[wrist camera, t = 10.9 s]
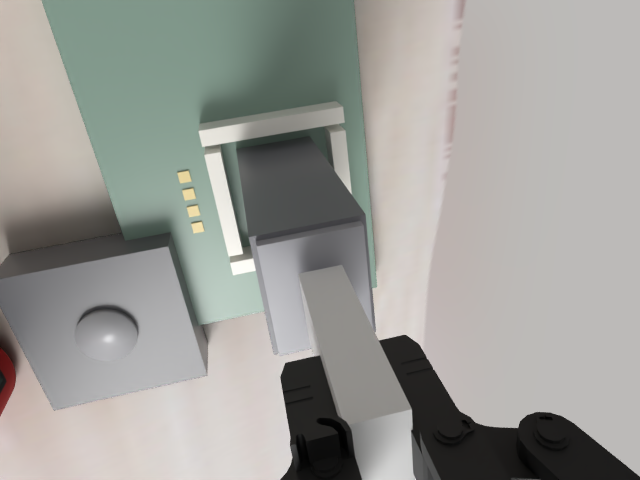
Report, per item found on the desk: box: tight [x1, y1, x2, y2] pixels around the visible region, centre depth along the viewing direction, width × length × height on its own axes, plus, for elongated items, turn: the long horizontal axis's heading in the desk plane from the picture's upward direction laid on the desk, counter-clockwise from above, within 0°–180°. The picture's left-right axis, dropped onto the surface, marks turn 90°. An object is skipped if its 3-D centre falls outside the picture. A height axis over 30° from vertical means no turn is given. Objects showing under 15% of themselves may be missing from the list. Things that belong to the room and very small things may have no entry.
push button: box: [0, 232, 208, 410], centre depth 28 cm, size 9×9×3 cm
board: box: [42, 0, 377, 326], centre depth 26 cm, size 20×14×3 cm
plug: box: [236, 136, 376, 356], centre depth 22 cm, size 6×4×11 cm
